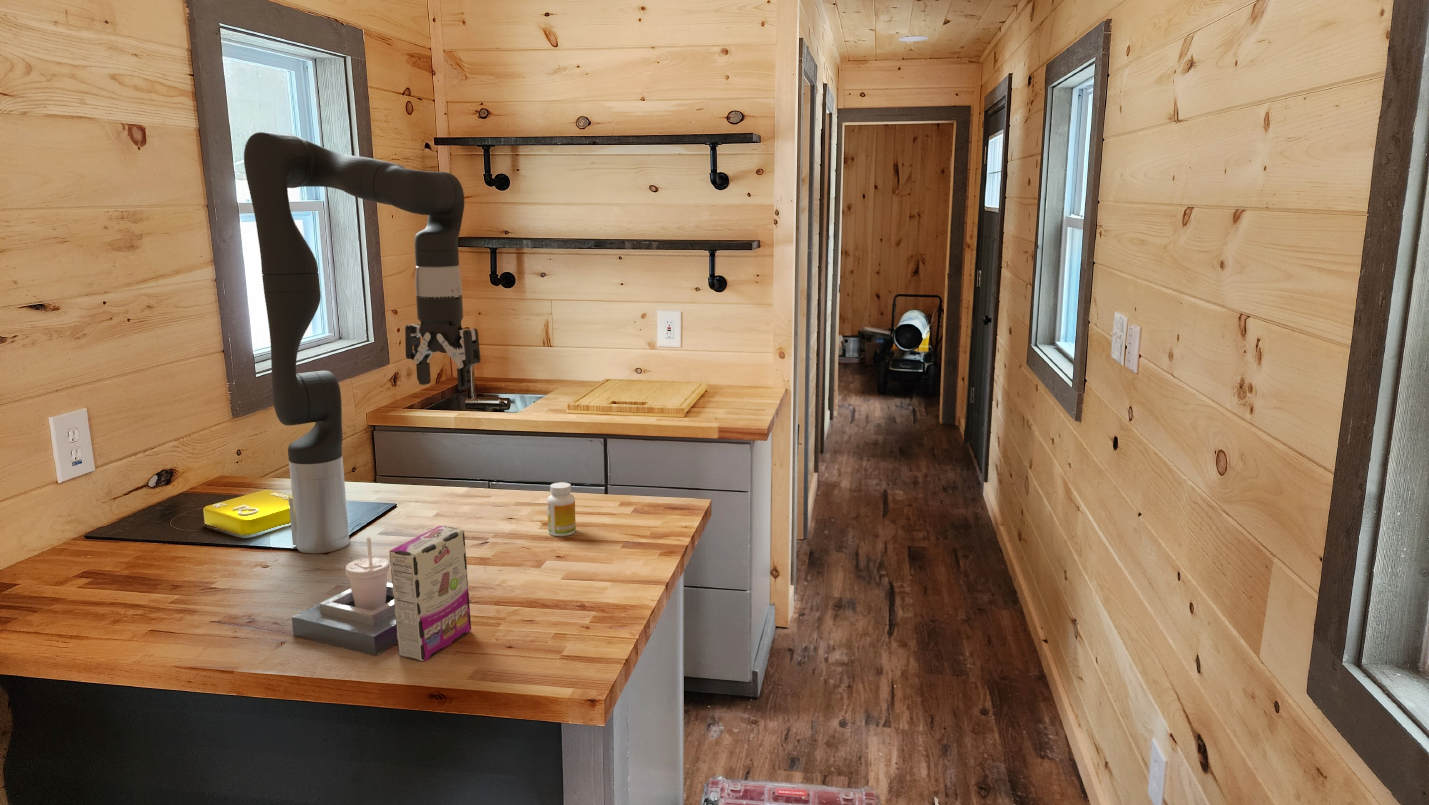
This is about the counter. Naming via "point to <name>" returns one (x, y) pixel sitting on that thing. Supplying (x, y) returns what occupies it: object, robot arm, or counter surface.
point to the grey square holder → (349, 624)
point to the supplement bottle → (561, 510)
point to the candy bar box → (430, 592)
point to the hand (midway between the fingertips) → (444, 386)
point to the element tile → (249, 512)
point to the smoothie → (368, 580)
